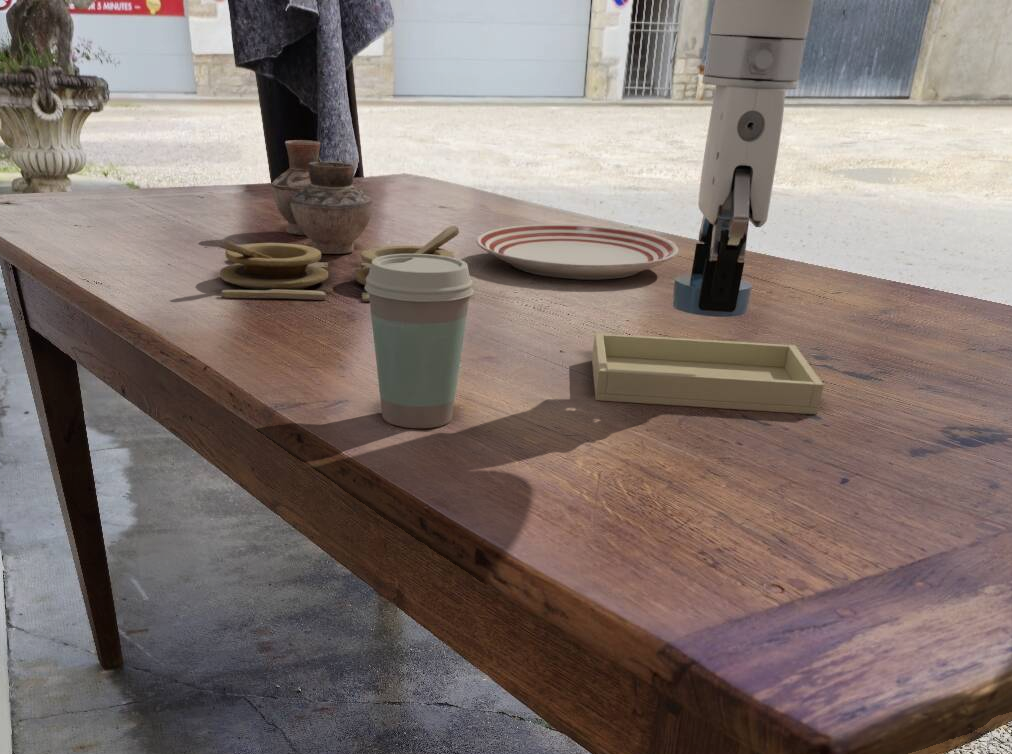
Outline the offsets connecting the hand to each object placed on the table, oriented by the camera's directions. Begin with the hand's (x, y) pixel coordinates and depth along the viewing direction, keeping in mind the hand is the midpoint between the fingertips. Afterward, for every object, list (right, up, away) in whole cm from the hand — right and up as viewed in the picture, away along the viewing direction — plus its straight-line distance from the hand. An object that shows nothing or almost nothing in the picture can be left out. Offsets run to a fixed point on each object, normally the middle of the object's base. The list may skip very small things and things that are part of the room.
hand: (711, 299), depth 94 cm
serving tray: (0, -6, +4) cm, 8 cm away
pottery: (-43, +33, +57) cm, 79 cm away
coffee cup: (-26, -13, -7) cm, 30 cm away
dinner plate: (-6, +26, +50) cm, 57 cm away
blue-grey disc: (0, -1, 0) cm, 1 cm away
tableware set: (-37, +17, +35) cm, 54 cm away
